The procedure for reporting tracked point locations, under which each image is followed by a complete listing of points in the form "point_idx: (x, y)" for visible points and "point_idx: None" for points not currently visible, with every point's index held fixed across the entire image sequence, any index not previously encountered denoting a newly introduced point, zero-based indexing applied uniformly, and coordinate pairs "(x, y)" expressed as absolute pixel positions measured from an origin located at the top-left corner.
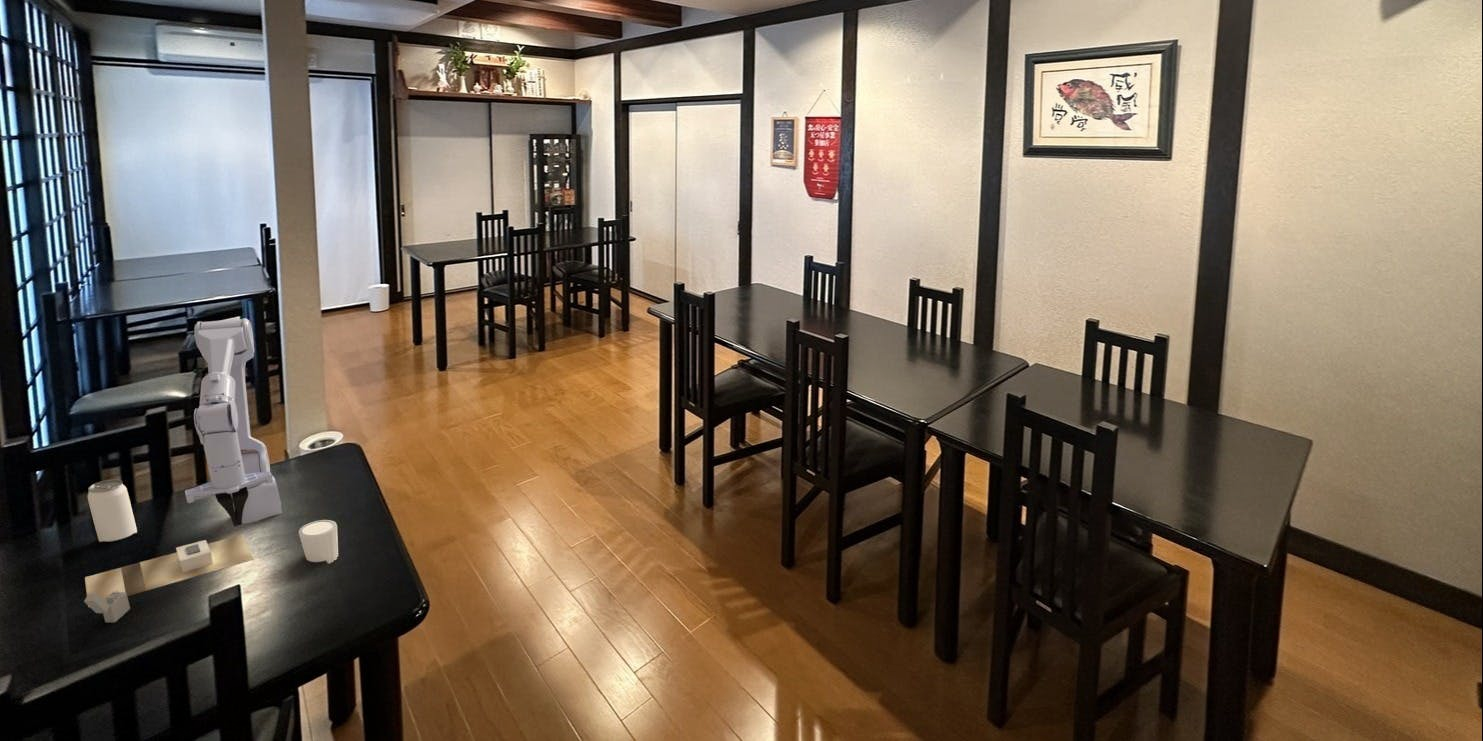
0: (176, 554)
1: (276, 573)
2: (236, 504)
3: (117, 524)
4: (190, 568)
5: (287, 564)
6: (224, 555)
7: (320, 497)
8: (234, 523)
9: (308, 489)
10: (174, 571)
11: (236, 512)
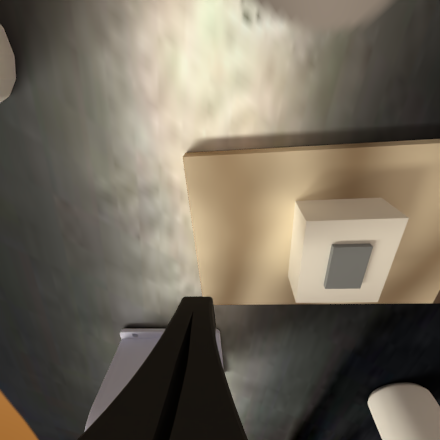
0: None
1: (114, 22)
2: (154, 423)
3: (432, 433)
4: (360, 201)
5: (83, 79)
6: (257, 229)
7: (59, 361)
8: (207, 306)
9: (87, 389)
10: None
11: (183, 361)
